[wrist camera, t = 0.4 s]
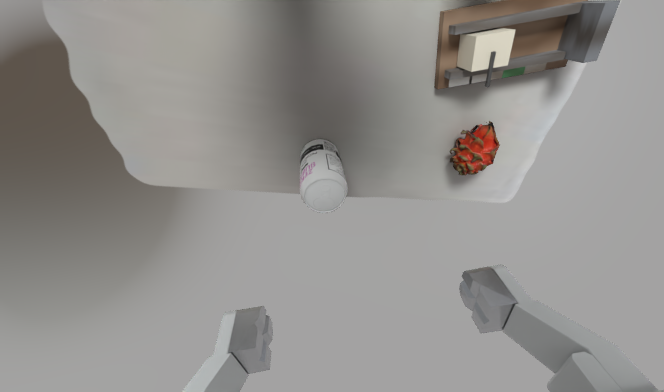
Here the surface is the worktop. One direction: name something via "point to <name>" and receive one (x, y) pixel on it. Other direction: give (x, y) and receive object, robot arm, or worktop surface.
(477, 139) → the dragon fruit
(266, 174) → the worktop surface
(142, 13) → the worktop surface
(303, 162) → the supplement can
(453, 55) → the base
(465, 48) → the cream block with rod
